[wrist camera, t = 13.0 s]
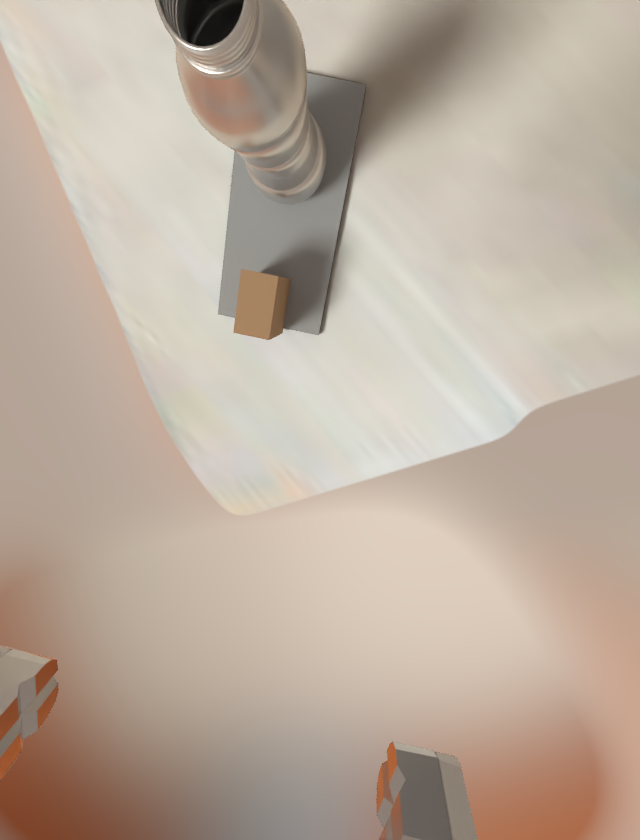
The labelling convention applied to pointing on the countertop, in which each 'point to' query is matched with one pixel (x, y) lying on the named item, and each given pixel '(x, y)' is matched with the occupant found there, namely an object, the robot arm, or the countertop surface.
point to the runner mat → (290, 228)
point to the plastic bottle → (250, 88)
